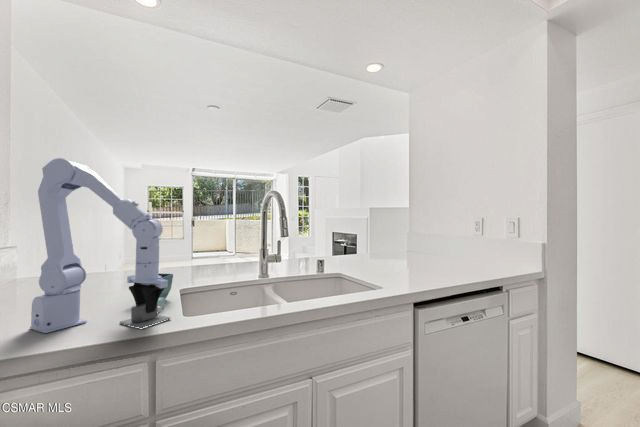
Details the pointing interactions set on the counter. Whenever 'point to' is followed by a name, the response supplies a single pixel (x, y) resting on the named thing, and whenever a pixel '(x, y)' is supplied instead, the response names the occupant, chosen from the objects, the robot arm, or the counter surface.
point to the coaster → (146, 322)
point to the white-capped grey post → (143, 313)
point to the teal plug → (161, 302)
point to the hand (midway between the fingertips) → (146, 311)
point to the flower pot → (167, 289)
